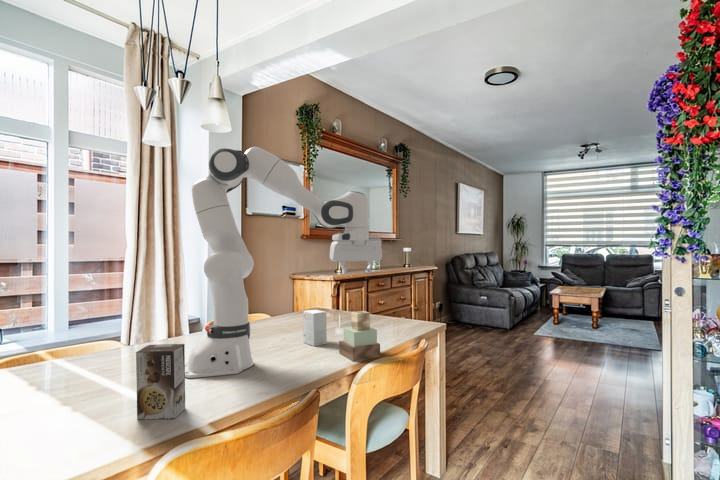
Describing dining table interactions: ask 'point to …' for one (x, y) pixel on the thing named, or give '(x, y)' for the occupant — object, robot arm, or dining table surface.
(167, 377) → the coffee box
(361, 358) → the walnut block
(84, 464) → the dining table surface
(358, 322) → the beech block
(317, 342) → the small box
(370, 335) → the sage block
